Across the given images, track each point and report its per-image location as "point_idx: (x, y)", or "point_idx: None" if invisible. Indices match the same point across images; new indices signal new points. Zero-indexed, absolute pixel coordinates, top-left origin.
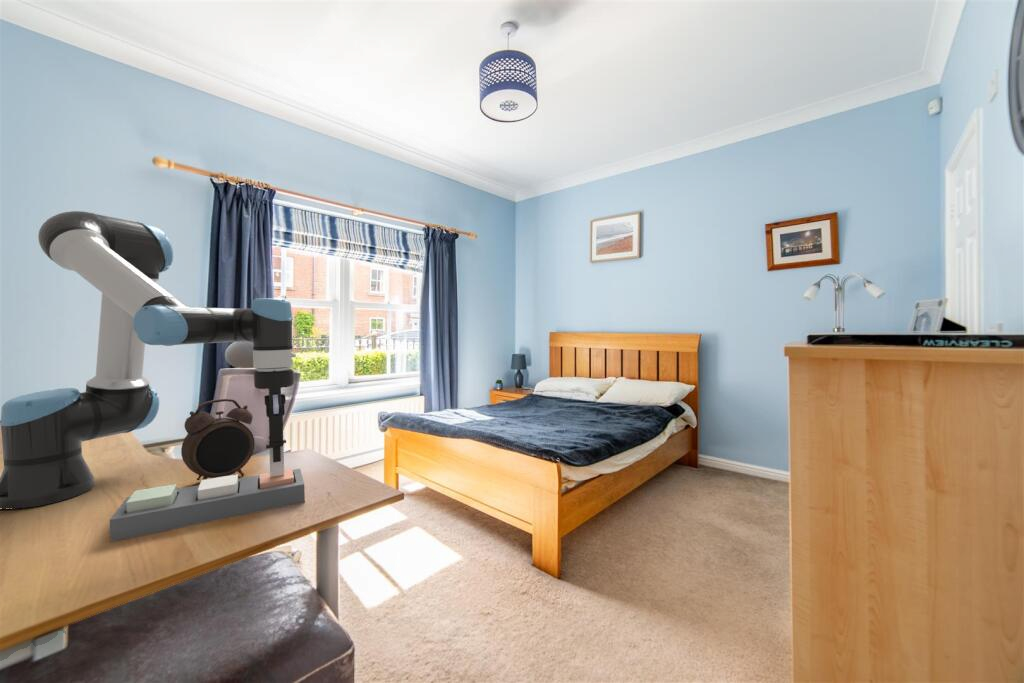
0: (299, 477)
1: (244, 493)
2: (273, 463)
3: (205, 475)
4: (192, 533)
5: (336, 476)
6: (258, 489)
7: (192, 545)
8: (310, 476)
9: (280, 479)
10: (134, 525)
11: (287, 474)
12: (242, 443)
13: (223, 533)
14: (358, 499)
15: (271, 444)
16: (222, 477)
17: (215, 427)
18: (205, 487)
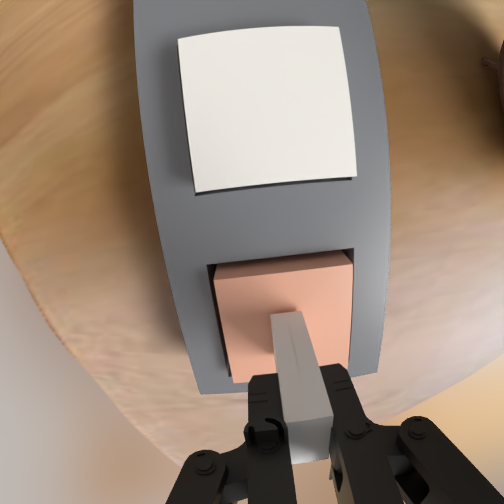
0: None
1: (177, 220)
2: (276, 365)
3: (500, 67)
4: (100, 90)
5: (365, 405)
6: (203, 267)
7: (38, 122)
8: (410, 351)
9: (232, 347)
10: None
11: None
12: None
13: (70, 175)
14: (182, 437)
15: (184, 470)
16: (337, 109)
17: None
18: (205, 59)
